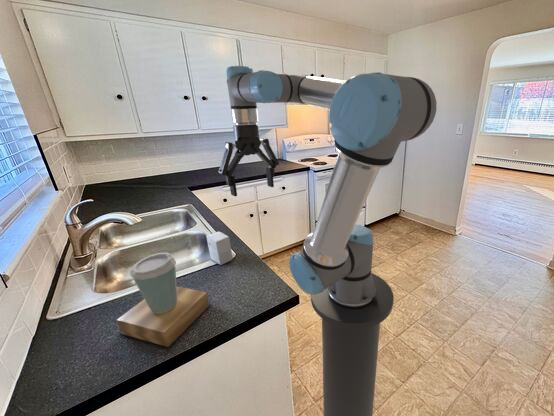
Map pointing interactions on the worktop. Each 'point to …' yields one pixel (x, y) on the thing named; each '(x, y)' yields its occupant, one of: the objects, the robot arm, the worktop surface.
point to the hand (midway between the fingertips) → (253, 190)
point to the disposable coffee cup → (157, 281)
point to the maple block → (164, 318)
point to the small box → (219, 247)
